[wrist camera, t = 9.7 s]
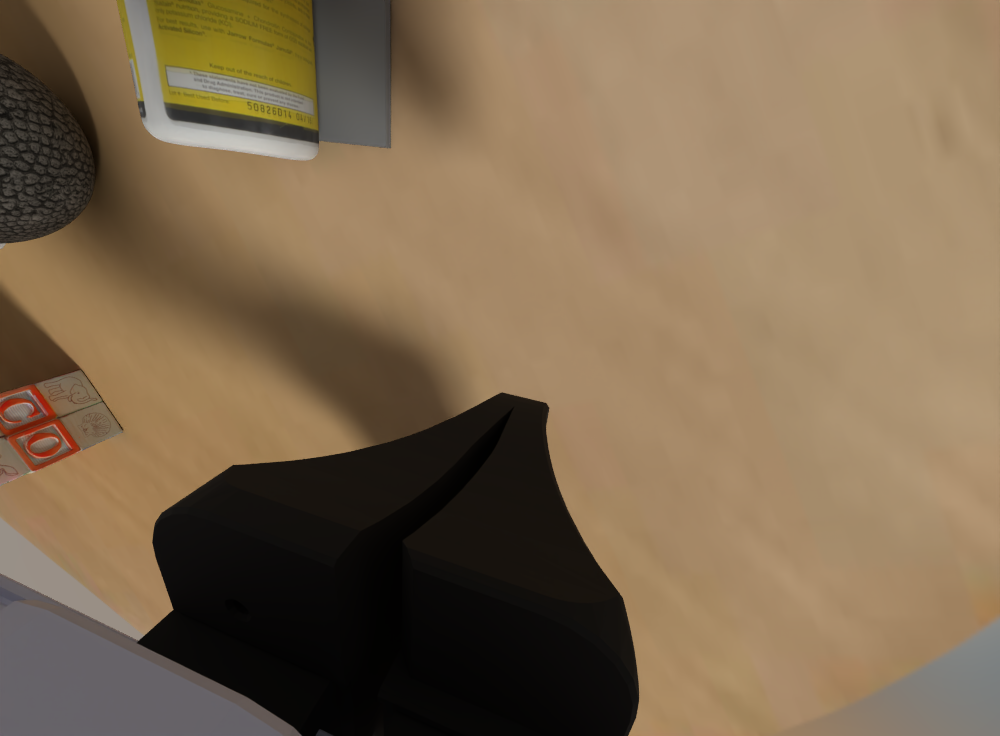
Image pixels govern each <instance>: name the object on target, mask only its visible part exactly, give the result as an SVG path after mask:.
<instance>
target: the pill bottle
mask: <svg viewBox="0 0 1000 736" xmlns="http://www.w3.org/2000/svg"><path fill="white" fill-rule="evenodd" d="M117 5H118V9H119V14H120V19H121V23H122V28H123V33H124V37H125V42H126V47H127V52H128V57H129V62H130V66H131V71H132V76H133V81H134V86H135V91H136V96H137V100H138V106H139V110H140V114H141V119H142V121H143V124H144V126H145V128H146V129H147V131H148V132H149V133H150V134H151V135H153V136H154V137H155V138H157V139H159V140H161V141H164V142H168V143H173V144H179V145H186V146H194V147H203V148H212V149H221V150H229V151H237V152H244V153H251V154H258V155H264V156H271V157H278V158H284V159H291V160H311V159H313V158H314V157H315V156H316V155H317V153H318V150H319V125H318V109H317V88H316V69H315V48H314V30H313V14H312V0H117Z"/></svg>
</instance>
